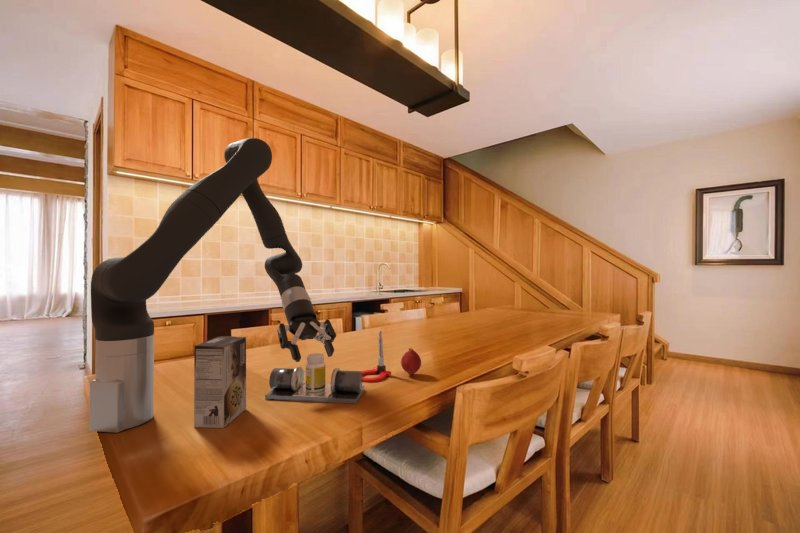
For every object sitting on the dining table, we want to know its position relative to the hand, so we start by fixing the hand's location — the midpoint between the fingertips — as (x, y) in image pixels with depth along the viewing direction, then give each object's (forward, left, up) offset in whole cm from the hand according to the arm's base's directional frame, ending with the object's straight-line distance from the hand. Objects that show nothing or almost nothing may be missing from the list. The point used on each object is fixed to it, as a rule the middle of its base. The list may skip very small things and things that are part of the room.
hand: (315, 357), depth 84 cm
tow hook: (+15, -11, -9) cm, 21 cm away
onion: (+18, -22, -9) cm, 30 cm away
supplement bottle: (0, 0, -8) cm, 8 cm away
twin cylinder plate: (0, 0, -9) cm, 9 cm away
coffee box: (-15, +15, -9) cm, 23 cm away
